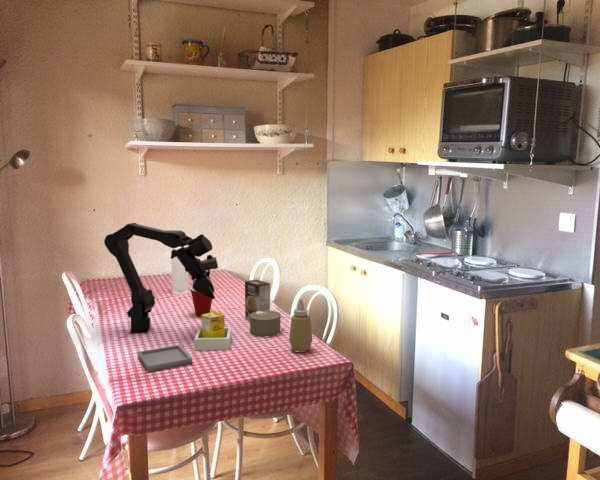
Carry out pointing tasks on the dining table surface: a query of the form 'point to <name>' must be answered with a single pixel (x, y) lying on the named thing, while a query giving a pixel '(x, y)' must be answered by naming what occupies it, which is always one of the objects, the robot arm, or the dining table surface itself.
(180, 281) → the bottle
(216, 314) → the supplement box
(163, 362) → the tray
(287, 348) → the dining table surface
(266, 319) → the can
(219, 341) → the white square frame
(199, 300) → the plastic cup
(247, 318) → the coffee box
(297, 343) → the squeeze bottle
